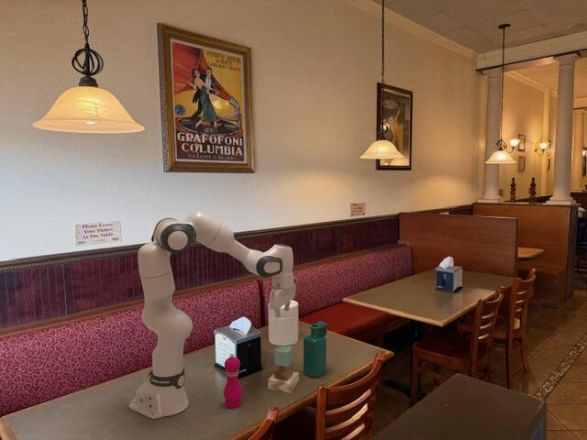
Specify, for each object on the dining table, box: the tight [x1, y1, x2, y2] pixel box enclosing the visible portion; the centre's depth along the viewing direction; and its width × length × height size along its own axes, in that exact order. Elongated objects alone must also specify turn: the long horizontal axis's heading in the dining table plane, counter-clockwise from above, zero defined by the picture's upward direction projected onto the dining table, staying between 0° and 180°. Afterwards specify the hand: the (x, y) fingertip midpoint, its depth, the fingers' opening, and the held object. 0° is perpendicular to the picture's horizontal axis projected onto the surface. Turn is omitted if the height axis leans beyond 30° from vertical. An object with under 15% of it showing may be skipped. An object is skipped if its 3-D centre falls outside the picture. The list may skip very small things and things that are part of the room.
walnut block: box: [273, 360, 294, 381], centre depth 173 cm, size 6×6×6 cm
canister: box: [267, 299, 299, 346], centre depth 222 cm, size 16×16×20 cm
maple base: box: [267, 371, 300, 394], centre depth 173 cm, size 10×10×4 cm
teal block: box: [273, 345, 294, 367], centre depth 172 cm, size 6×6×6 cm
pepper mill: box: [222, 353, 243, 409], centre depth 159 cm, size 7×7×20 cm
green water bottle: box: [302, 321, 328, 379], centre depth 184 cm, size 10×8×22 cm
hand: (282, 313), depth 176 cm, fingers open, 8 cm apart
